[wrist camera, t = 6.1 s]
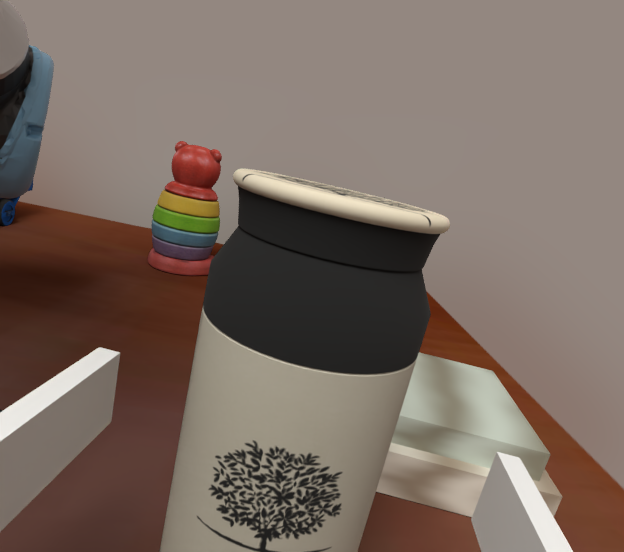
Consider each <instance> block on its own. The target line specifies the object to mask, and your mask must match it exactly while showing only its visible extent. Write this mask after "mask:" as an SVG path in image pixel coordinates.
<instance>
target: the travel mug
mask: <svg viewBox="0 0 624 552" xmlns="http://www.w3.org/2000/svg"><path fill="white" fill-rule="evenodd" d="M233 179H234V182H235V183H236V184H237V185H238V190H239V216H238V217H239V218H238V224H239V226H238V228H237V229H236V230H235V231H234V233H233V234H232V235H231V236H230V238H229V239H228V240H227V241H226V243H225V244H224V245H223V246H222V248H221V249H220V250H219V251H218V253H217V254H216V255H215V257H214V258H213V259H212V260H211V263H210V268H209V274H208V279H207V285H206V291H205V297H204V302H203V308H202V314H201V319H200V325H199V331H198V336H197V342H196V348H195V353H194V359H193V365H192V370H191V376H190V382H189V388H188V393H187V399H186V405H185V410H184V416H183V422H182V427H181V433H180V439H179V444H178V450H177V456H176V461H175V467H174V473H173V478H172V484H171V490H170V496H169V501H168V507H167V513H166V518H165V524H164V530H163V535H162V541H161V547H160V552H357V551H358V548H359V545H360V541H361V538H362V535H363V532H364V528H365V525H366V522H367V519H368V516H369V512H370V509H371V506H372V503H373V499H374V496H375V493H376V490H377V486H378V483H379V480H380V477H381V473H382V470H383V467H384V464H385V460H386V457H387V454H388V451H389V447H390V444H391V441H392V438H393V434H394V431H395V428H396V425H397V421H398V418H399V415H400V412H401V408H402V405H403V402H404V399H405V396H406V392H407V389H408V386H409V383H410V379H411V376H412V373H413V370H414V366H415V363H416V360H417V357H418V353H419V350H420V347H421V344H422V340H423V337H424V334H425V331H426V327H427V324H428V321H429V318H430V308H429V304H428V299H427V294H426V289H425V284H424V279H423V274H422V268H423V267H424V265H425V263H426V260H427V258H428V256H429V254H430V252H431V249H432V247H433V245H434V243H435V242H436V240H437V239H438V237H439V235H440V234H441V233H444V232H446V231H447V230H448V229H449V227H450V222H449V220H448V219H447V218H446V217H445V216H443V215H440V214H438V213H434V212H431V211H428V210H425V209H421V208H418V207H415V206H411V205H407V204H404V203H400V202H396V201H392V200H388V199H385V198H380V197H376V196H373V195H368V194H365V193H360V192H356V191H352V190H348V189H344V188H339V187H335V186H331V185H326V184H322V183H318V182H313V181H308V180H304V179H299V178H294V177H290V176H285V175H280V174H275V173H270V172H264V171H258V170H251V169H239V170H237V171H236V172H235V173H234V175H233Z"/></svg>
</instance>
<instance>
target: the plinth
mask: <svg viewBox="0 0 624 552" xmlns="http://www.w3.org/2000/svg"><path fill="white" fill-rule="evenodd" d="M496 452H500V453H504V454H508V455H511V456H515V457H519V458H520V459H521V461H522V463H523V464H524V466H525V468H526V470H527V471H528V473H529V475H530V477H531V478H532V480H533V482H534V484H535V485H536V487H537V489H538V491H539V492H540V494H541V496H542V498H543V500H544V501H545V503H546V505H547V507H548V508H549V510H550V512H551V514H552V515H553V517H554V515H555V513H556V510H557V508H558V506H559V503H560V501H561V499H562V496H561V494H560V492H559V491H558V489H557V488H556V486H555V485H554V483H553V481H552V480H551V478H550V477H549V475H548V474H547V472H546V470H545V466H546V464H547V461H548V459H549V457H550V453H549V452H548V450H547V449H546V447H545V446H544V444H543V443H542V441H541V440H540V439H539V437H538V436H537V434H536V433H535V431H534V430H533V428H532V427H531V426H530V424H529V423H528V421H527V420H526V418H525V417H524V415H523V414H522V413H521V411H520V410H519V408H518V407H517V405H516V404H515V402H514V401H513V400H512V398H511V397H510V395H509V394H508V392H507V391H506V389H505V388H504V387H503V385H502V384H501V382H500V381H499V379H498V378H497V376H496V375H495V373H494V372H493V371H490V370H486V369H483V368H479V367H475V366H471V365H467V364H463V363H459V362H455V361H451V360H447V359H443V358H439V357H435V356H431V355H427V354H423V353H418V357H417V360H416V363H415V366H414V370H413V373H412V376H411V379H410V383H409V386H408V389H407V392H406V396H405V399H404V402H403V405H402V408H401V412H400V415H399V418H398V421H397V425H396V428H395V431H394V434H393V438H392V441H391V444H390V447H389V451H388V454H387V457H386V460H385V464H384V467H383V470H382V473H381V477H380V480H379V483H378V486H377V490H376V492H379V493H383V494H387V495H391V496H394V497H398V498H402V499H406V500H409V501H413V502H417V503H421V504H424V505H428V506H432V507H436V508H439V509H443V510H447V511H451V512H454V513H458V514H462V515H465V516H469V517H472V516H473V513H474V511H475V508H476V505H477V503H478V500H479V497H480V495H481V492H482V489H483V487H484V484H485V481H486V479H487V476H488V474H489V471H490V468H491V466H492V463H493V460H494V458H495V455H496Z"/></svg>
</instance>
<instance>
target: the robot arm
mask: <svg viewBox="0 0 624 552" xmlns="http://www.w3.org/2000/svg"><path fill="white" fill-rule="evenodd" d="M53 69H54V63H53V60H52V59H51V57H50V56H49V55H48V54H46V53H44V52H42V51H40V50H39V49H38V48H37V47H35V46H30V45H29V39H28V34H27V29H26V25H25V22H24V21H23V19H22V17H21V15H20V14H19V12H18V11H17V9H16V8H15V7H14V6H13V5H12V3H11V2H9V0H0V198H16V197H19V196H21V195H23V194H24V193H26V192H27V191H28V189H29V188H30V186H31V184H32V181H33V177H34V174H35V169H36V165H37V160H38V156H39V151H40V146H41V140H42V131H43V129H44V123H45V119H46V114H47V109H48V104H49V98H50V92H51V85H52V78H53ZM119 359H120V352H116V351H112V350H108V349H105V348H101V347H99V348H97V349H96V350H94V351H93V352H91V353H90V354H88V355H87V356H85V357H84V358H82V359H81V360H79V361H78V362H76V363H75V364H73V365H71V366H70V367H68V368H67V369H65V370H64V371H62V372H61V373H59V374H58V375H56V376H55V377H53V378H52V379H50V380H49V381H47V382H46V383H44V384H43V385H41V386H40V387H38V388H37V389H35V390H34V391H32V392H30V393H29V394H27V395H26V396H24V397H23V398H21V399H20V400H18V401H17V402H15V403H14V404H12V405H11V406H9V407H8V408H6V409H5V410H3V411H2V410H0V532H1V531H2V530H3V529H4V528H5V527H6V526H7V525H8V524H9V523H10V522H11V521H12V520H13V519H14V518H15V517H16V516H17V515H18V514H19V513H20V512H21V511H22V510H23V509H24V508H25V507H26V506H27V505H28V504H29V503H30V502H31V501H32V500H33V499H34V498H35V497H36V496H37V495H38V494H39V493H40V492H41V491H42V490H43V489H44V488H45V487H46V486H47V485H48V484H49V483H50V482H51V481H52V480H53V479H54V478H55V477H56V476H57V475H58V474H59V473H60V472H61V471H62V470H63V469H64V468H65V467H66V466H67V465H68V464H69V463H70V462H71V461H72V460H73V459H74V458H75V457H76V456H77V455H78V454H79V453H80V452H81V451H82V450H83V449H84V448H85V447H86V446H87V445H88V444H89V443H90V442H91V441H92V440H93V439H94V438H95V437H96V436H97V435H98V434H99V433H100V432H101V431H103V430H104V429H105V428H106V427H107V426H108V425H109V424H110V423H111V420H112V412H113V404H114V397H115V389H116V382H117V374H118V367H119ZM471 521H472V524H473V527H474V530H475V533H476V536H477V539H478V543H479V546H480V549H481V552H573V551H572V549H571V547H570V545H569V544H568V542H567V540H566V538H565V537H564V535H563V533H562V531H561V530H560V528H559V526H558V524H557V522H556V521H555V519H554V517H553V515H552V514H551V512H550V510H549V508H548V507H547V505H546V503H545V501H544V500H543V498H542V496H541V494H540V492H539V491H538V489H537V487H536V485H535V484H534V482H533V480H532V478H531V477H530V475H529V473H528V471H527V470H526V468H525V466H524V464H523V463H522V461H521V459H520V458H519V457H515V456H511V455H508V454H504V453H500V452H496V455H495V458H494V460H493V463H492V466H491V468H490V471H489V474H488V476H487V479H486V481H485V484H484V487H483V489H482V492H481V495H480V497H479V500H478V503H477V505H476V508H475V511H474V513H473V516H472V519H471Z"/></svg>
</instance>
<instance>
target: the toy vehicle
mask: <svg viewBox="0 0 624 552" xmlns="http://www.w3.org/2000/svg"><path fill="white" fill-rule="evenodd" d="M32 188H33V181H32V184H31V186H30V188H29V189H28V191H30V190H32ZM19 198H20V196H19V197H16V198H0V225H1V226H7V225H10V224H11V223H12V221H13V219H14V215H15V205H16V203H17V201H18V200H19Z"/></svg>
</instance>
